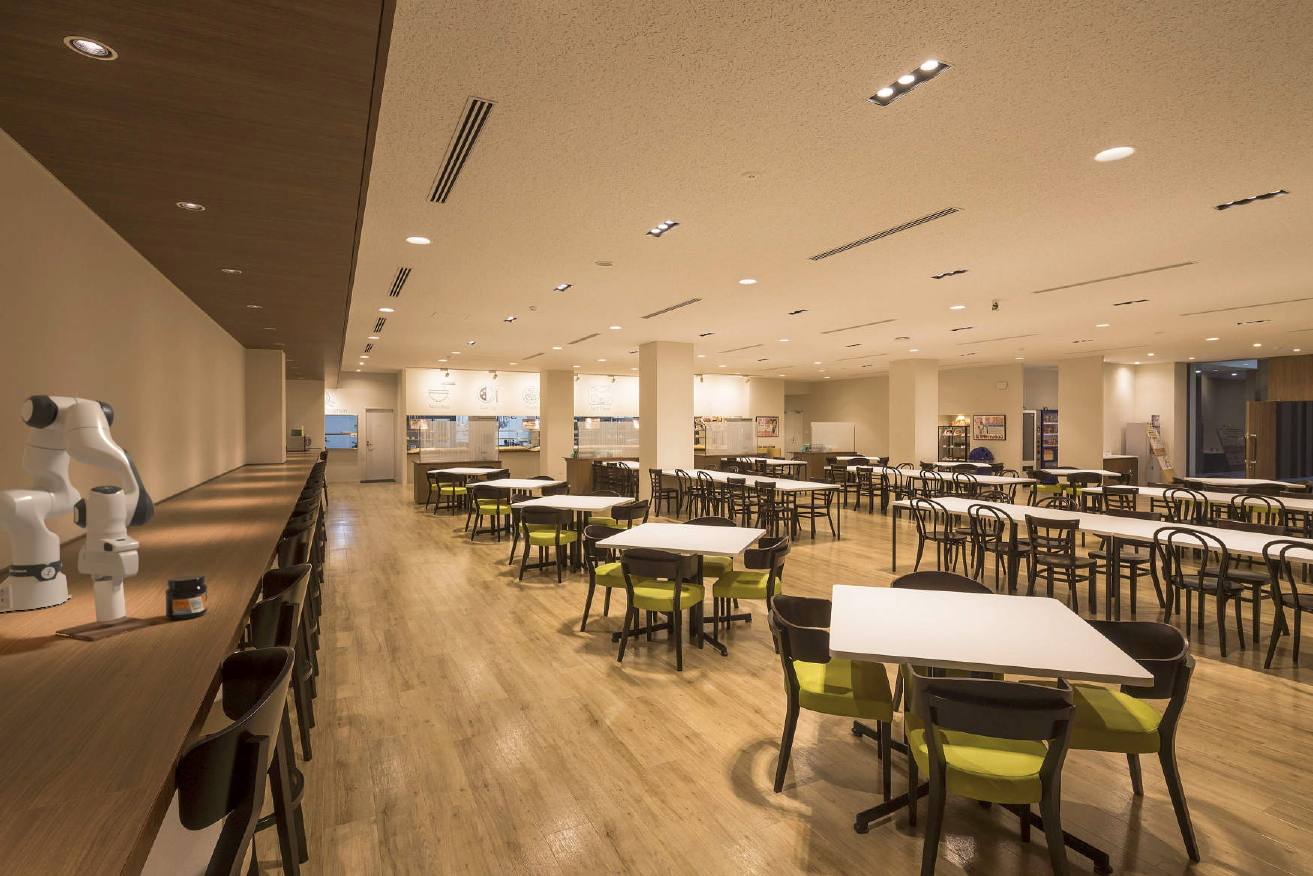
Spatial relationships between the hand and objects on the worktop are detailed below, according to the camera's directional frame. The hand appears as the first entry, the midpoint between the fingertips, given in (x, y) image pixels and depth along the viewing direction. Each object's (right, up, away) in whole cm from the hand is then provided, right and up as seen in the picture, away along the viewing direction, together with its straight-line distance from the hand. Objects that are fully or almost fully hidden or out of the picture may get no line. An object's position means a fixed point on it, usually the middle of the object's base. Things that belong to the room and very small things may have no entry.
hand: (107, 590), depth 184 cm
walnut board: (0, -11, 0) cm, 11 cm away
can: (+1, -9, 0) cm, 9 cm away
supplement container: (+13, -11, +14) cm, 22 cm away
